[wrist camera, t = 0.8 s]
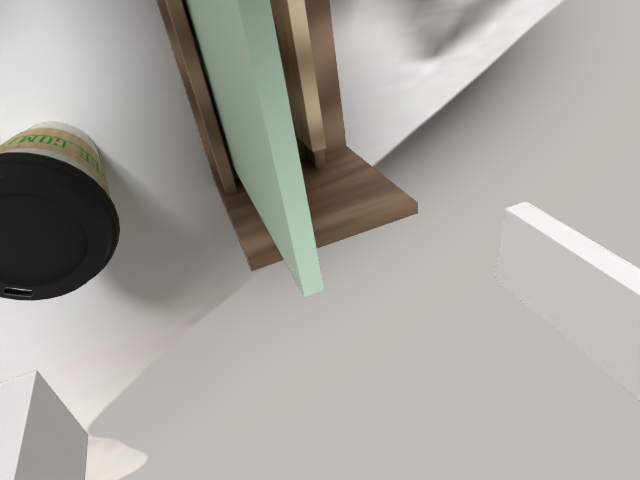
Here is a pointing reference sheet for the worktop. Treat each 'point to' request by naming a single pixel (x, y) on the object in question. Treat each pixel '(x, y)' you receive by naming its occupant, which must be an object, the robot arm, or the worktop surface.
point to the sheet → (258, 122)
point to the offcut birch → (299, 71)
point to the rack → (317, 167)
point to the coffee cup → (53, 212)
